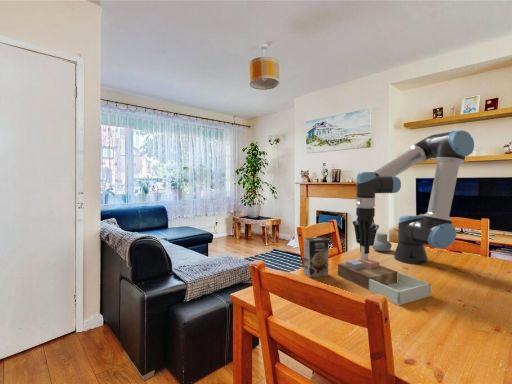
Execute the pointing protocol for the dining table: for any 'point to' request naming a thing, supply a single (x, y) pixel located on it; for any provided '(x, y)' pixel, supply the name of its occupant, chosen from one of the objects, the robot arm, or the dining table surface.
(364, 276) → the board
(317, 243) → the coffee box
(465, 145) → the robot arm
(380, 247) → the air freshener
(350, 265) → the slate tile
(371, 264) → the terracotta tile
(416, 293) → the tray
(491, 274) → the dining table surface
